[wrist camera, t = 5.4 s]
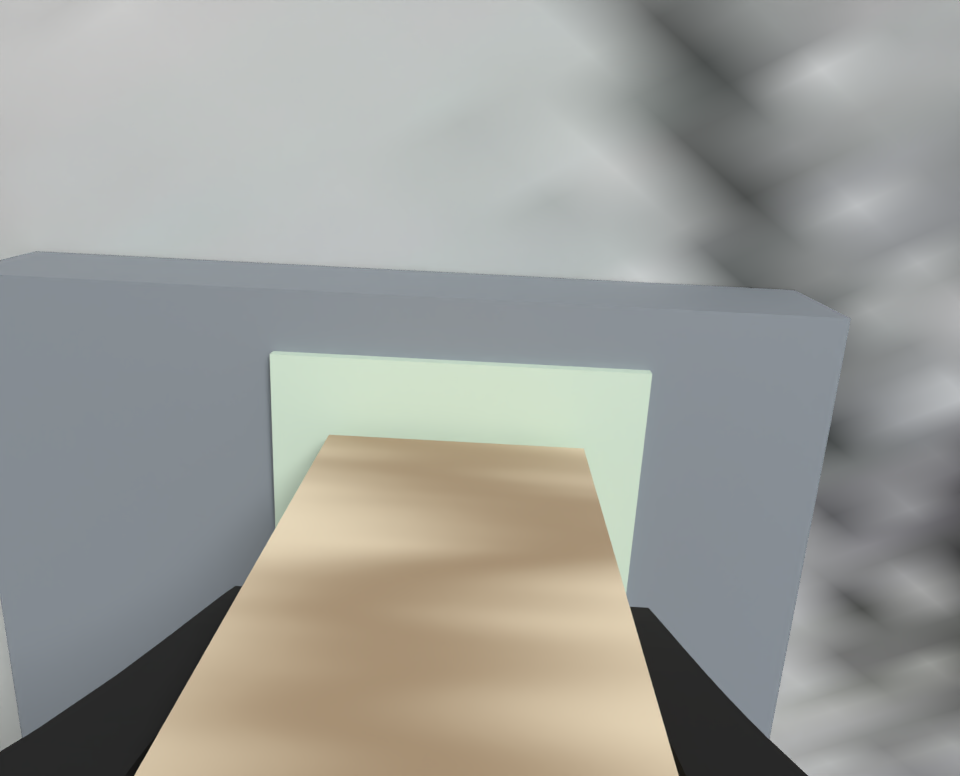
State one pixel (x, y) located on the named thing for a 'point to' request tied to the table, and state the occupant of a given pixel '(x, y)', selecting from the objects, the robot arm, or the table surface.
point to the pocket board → (390, 414)
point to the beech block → (426, 628)
